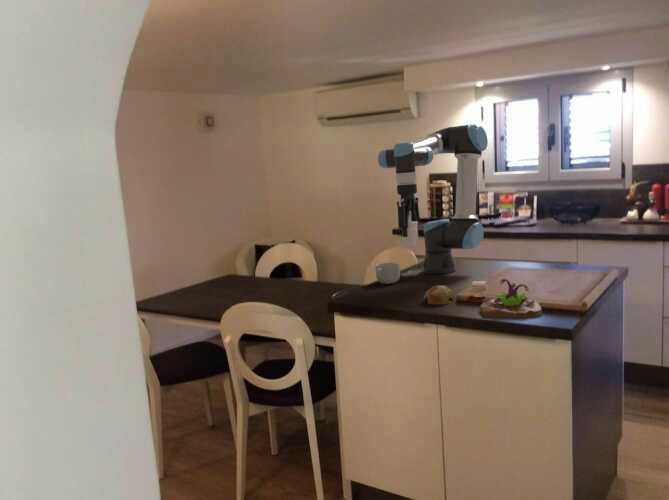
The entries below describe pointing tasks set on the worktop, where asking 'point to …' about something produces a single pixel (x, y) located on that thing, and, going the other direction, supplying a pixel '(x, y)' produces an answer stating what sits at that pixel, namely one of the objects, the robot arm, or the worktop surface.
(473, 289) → the birch block
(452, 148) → the robot arm
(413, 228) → the smoothie
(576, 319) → the worktop surface
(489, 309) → the plant
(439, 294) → the bread roll
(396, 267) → the teacup
